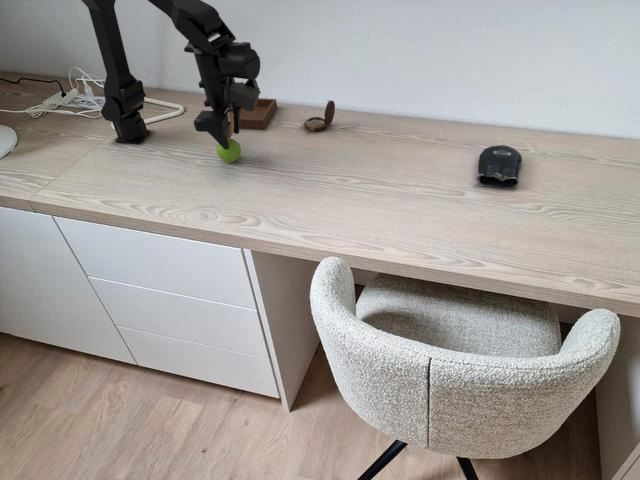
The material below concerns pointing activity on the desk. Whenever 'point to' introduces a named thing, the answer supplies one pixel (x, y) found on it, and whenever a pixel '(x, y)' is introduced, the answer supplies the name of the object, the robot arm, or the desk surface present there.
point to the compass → (321, 119)
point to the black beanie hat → (499, 167)
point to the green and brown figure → (234, 147)
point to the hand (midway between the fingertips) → (231, 141)
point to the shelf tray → (258, 115)
